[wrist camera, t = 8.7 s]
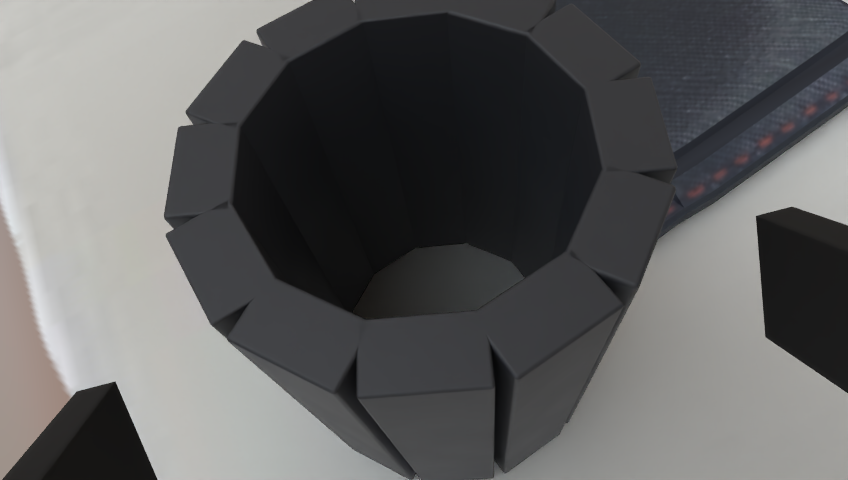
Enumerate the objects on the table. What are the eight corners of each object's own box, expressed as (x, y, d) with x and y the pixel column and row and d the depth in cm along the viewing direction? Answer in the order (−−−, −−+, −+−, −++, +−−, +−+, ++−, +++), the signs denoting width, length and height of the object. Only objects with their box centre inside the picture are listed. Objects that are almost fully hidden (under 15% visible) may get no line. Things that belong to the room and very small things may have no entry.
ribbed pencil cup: (391, 180, 26) (327, -67, 16) (628, 271, 23) (733, 40, 13) (259, 399, 22) (65, 258, 12) (521, 539, 19) (555, 507, 9)
